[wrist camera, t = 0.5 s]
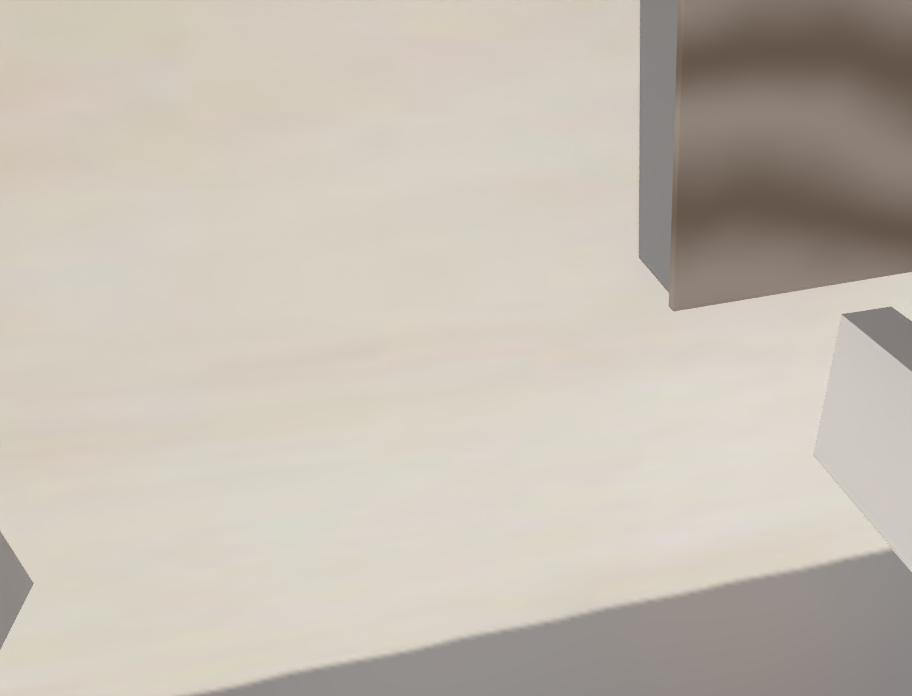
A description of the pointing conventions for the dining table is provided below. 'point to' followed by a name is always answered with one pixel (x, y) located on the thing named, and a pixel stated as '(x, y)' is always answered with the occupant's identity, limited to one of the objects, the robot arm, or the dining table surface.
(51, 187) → the dining table surface
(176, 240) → the dining table surface
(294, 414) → the dining table surface
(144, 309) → the dining table surface
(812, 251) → the podium
